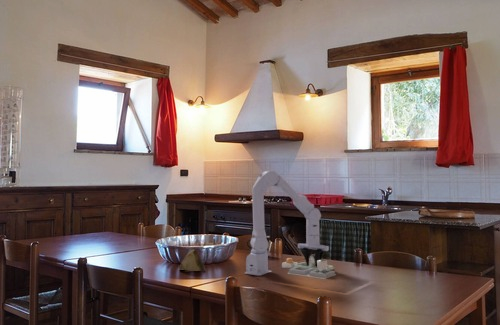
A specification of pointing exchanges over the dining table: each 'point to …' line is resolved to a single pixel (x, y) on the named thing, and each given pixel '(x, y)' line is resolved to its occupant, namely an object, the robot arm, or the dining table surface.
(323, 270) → the cylinder
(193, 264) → the rock
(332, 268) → the tray
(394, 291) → the dining table surface
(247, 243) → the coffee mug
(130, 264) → the dining table surface
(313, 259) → the cylinder
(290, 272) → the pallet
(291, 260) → the button cap
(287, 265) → the button housing
